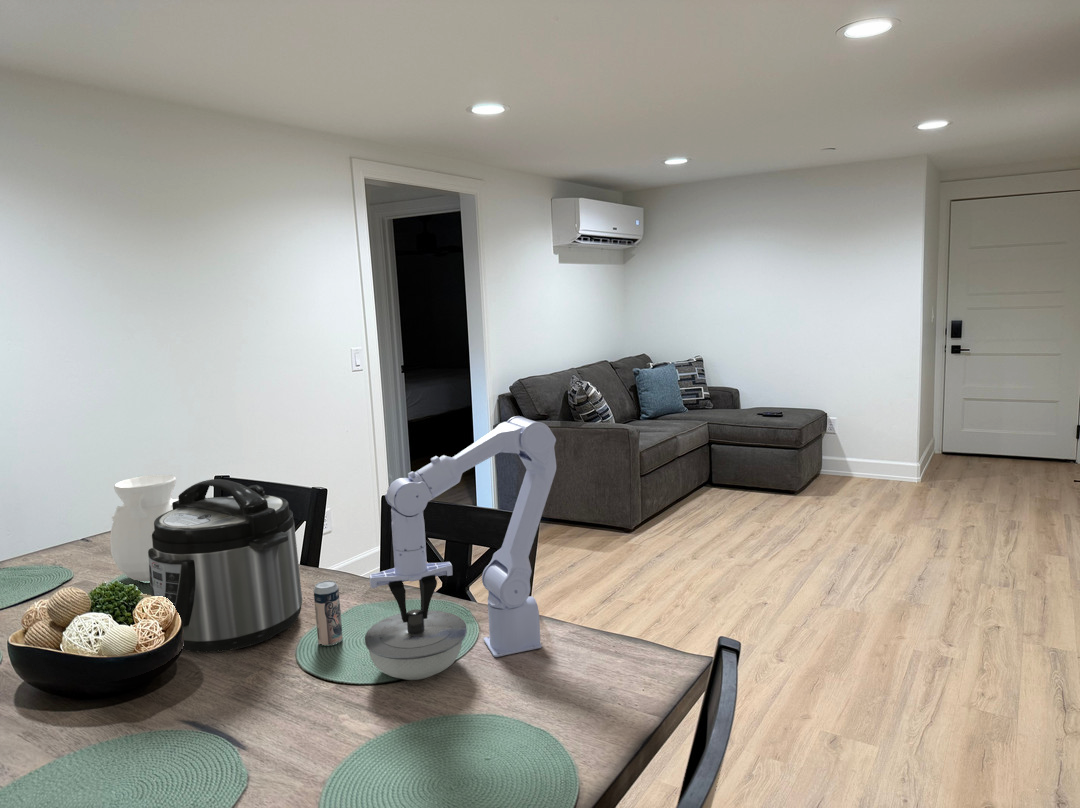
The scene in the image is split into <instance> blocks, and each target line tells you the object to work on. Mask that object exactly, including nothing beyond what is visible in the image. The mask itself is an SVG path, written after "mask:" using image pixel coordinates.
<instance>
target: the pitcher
mask: <svg viewBox="0 0 1080 808" xmlns="http://www.w3.org/2000/svg"><path fill="white" fill-rule="evenodd" d="M176 482H177V478H176V476H175V475H173V474H148V475H141V476H136V477H130V478H127V479H123V480H120V481H118V482H116V483H115V485H114V487H113V488H114V491H115V494H116V495H117V497H118V498H119V499H120V500H121V502H122V503H123V504H122V506H119V505H118V506H116V510H115V512H114V514H113V516H112V517H111V520H112V524H111V529H110V534H109V535H110V536H109V537H110V539H109V541H110V543H109V547H110V552H111V558H112V559H113V562H114V564H115V565H116V567H117V569H118V571H119V572H121V573H122V574H124V575H125V576H126V577H127V578H130V579H132V580H134V581H135V580H138V581H150V575H149V557H148V550H149V549H151V548H153V543H152V533H153V532H154V521H155V520H156V518H158V517H159V516H161V515H162V514H164V513H166V512H168V511H171V510H173V505H172V503H173V502H175V501H178V500H179V498H175V499H173V498H172V494H173V492H174V489H175V486H176Z"/></svg>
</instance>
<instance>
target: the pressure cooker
mask: <svg viewBox="0 0 1080 808" xmlns="http://www.w3.org/2000/svg"><path fill="white" fill-rule="evenodd" d="M210 487H213V488H215V489H219V490H221V491H224V492H226V493H228V494H230V496H219V497H218V496H217V497H216V496H214V497H206V496H207V493H208V491H209V489H210ZM289 504H290V503H289V502H288V500H287V499H285V498H283V497H281V496H277V495H269V494H268V495H267V494H265V490H264V488H263V487H262V486H260V485H258V484H253V485H249V486H246V485H243V484H241V483H238V482H235V481H232V480H228V479H222V478H218V479H217V478H215V479H213V478H212V479H207V480H206V479H205V480H202V481H199V482H196V483H195V484H193V485H191V486H189V487H187V488H186V489H184V490H183V491H182V492H181V493H180V494H179V495H178V501H175V502H173V503H172V505H173V510H171V511H168V512H166V513H164V514H162V515H161V516H159V517H158V518H156V520H155V521H154V532H153V533H152V543H153V548H151V549H149V550H148V557H149V575H150V584H149V586H150V587H149V588H150V597H151V596H163V597H166V598H168V599H169V600H170V601H171V602H172V603H173V605H174V606H175V608H176V610H177V612H178V613H179V615H180V617H181V619H182V624H183V629H184V646H183V651H187V652H191V653H192V652H193V653H198V652H199V653H219V652H226V651H233V650H237V649H239V650H240V649H243V648H246V647H250V646H254V645H256V644H259V643H262V642H266V641H268V640H270V639H271V638H273V637H274V636H276V635H277V634H279V633H281V632H283V631H285V630H287V629H289V628H291V626H293V625H294V624H295V623H296V621H298V618H299V616H300V614H301V611H302V604H303V593H302V585H301V582H302V581H301V575H300V574H301V573H300V565H299V555H298V548H297V546H298V545H297V539H296V538H297V537H296V528H295V520H294V514H293V511H292V510H291V509H290V506H289Z"/></svg>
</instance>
